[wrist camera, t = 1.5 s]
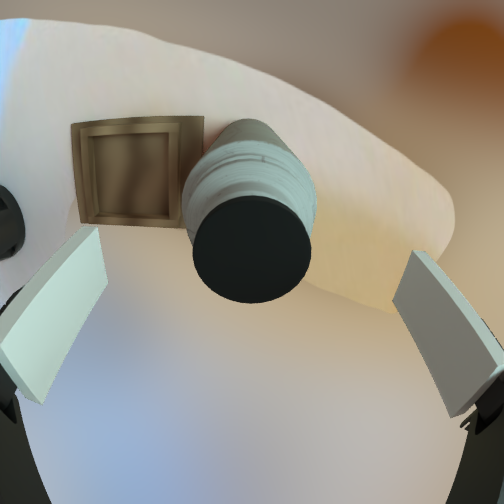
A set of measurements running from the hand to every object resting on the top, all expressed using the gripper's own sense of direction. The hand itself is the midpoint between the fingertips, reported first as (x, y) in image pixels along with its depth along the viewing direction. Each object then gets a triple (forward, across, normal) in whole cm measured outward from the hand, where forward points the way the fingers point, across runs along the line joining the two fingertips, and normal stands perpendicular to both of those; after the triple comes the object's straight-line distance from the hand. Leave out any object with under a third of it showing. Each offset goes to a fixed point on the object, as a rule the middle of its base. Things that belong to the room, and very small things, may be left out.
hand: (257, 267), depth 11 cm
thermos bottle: (+29, 0, 0) cm, 29 cm away
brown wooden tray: (+28, -16, -4) cm, 33 cm away
